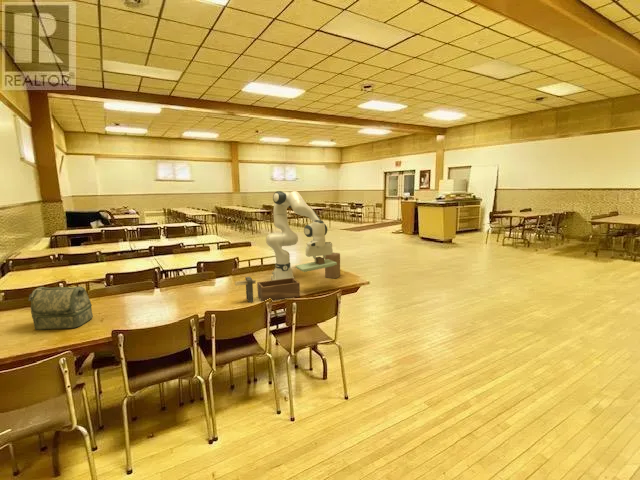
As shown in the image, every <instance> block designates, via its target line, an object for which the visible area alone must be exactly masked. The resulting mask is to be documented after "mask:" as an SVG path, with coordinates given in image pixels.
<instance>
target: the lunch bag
mask: <svg viewBox="0 0 640 480" xmlns="http://www.w3.org/2000/svg"><path fill="white" fill-rule="evenodd" d="M31 292H32V293H29V295H28V300H27V301H28V302H30V313H31V318H32V321H33V326H34V330H35V331H36V330H58V329H59V330H60V329H63V330H64V329H75V328H78V327H81V326H83V325H84V324H86V323H87V322H88V321H90V320H91V319H92V318H93V317H94V315H93V311H92V310H93V309H92V303H91V300H90V297H89V295H88V293H87V290H86V289H85V288H84V287H83V286H71V287H60V286H59V287H44V286H39V287H37V288H36V289H33V290H32V291H31Z"/></svg>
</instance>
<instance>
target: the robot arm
mask: <svg viewBox="0 0 640 480" xmlns="http://www.w3.org/2000/svg"><path fill="white" fill-rule="evenodd" d="M272 201H273V203H274V205H273V211H272V212H273V213H272V214H273V224H274V226H275V228H276V229H279V230H280V231H281V232H272V233H268V234H267V235H266V238H265V242H266V244H267V246H268V247H270V248H271V249H272V250H273V252H274V255H275V265H274V267H275V268H274V269H273V271H271V275H270V278H271V280H279V279H287V278H294V279H295V276H294V275H293V269H292V268H291V261H290V257H291V256H290V253H289V251H287V250H286V249H284V248H283V247H289V246H290V247H291V246H295V245H296V244H297V243H298V242H299V237H298V234H297V233H296V232H294V231H293V230H292V229H291V227H290V225H289V222H288V221H289V220H288V210H287V209H288V208H290V209H292V211H293V212H294V213H295V215H299V216H304V217H307V218H309V219H310V220H311V223H309V224H306V225H305V226H304V229H303V233H304V235H305V236H306V237H307V238H312V240H311V241H308V242H306V247H305V256H306V257H308V258H310V257H312V258H313V259H314V262H317V259H316V257H321V256H322V258H324V260H325V257H326V255H331V254H332V253H334V252H333V243H332V242H331V241H328V242H327V241H326V235H327V233H328V230H329V229H328V226H327V224H326V223H325V221H324V220H322V219H321V218H320V217H319V215H318V213H316V212H315V210H314V209H313V208H312V207H311V206H309V205H308V204H307V203H306V200H304V198H303V197H302V195H301V193H299V191H296V190H293V191H281V190H278V191H275V192H274V193H273V196H272Z"/></svg>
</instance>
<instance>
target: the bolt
mask: <svg viewBox="0 0 640 480" xmlns="http://www.w3.org/2000/svg"><path fill="white" fill-rule="evenodd" d="M252 282H253V285H254V284H256V283H257V282H256V279H255V278H254V279H253V278H252ZM246 284H247V280H246V279H245V280H238V281H237V280H236V281H234V285H235V286H236V287H237V286H238V287H239V286H244V285H245V286H246Z"/></svg>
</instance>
